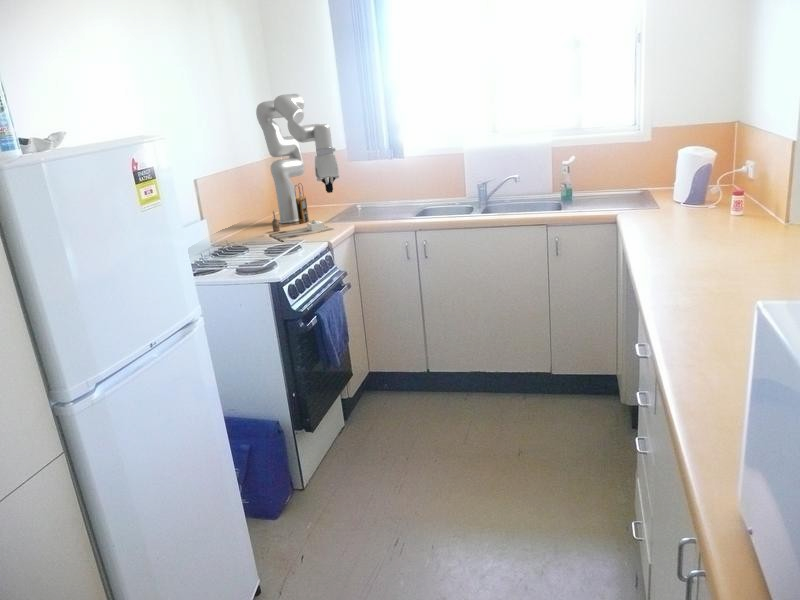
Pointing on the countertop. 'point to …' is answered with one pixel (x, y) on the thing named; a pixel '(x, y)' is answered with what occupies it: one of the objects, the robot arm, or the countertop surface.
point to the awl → (275, 224)
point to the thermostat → (315, 225)
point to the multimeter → (302, 208)
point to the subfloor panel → (296, 233)
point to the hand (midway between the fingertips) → (329, 192)
